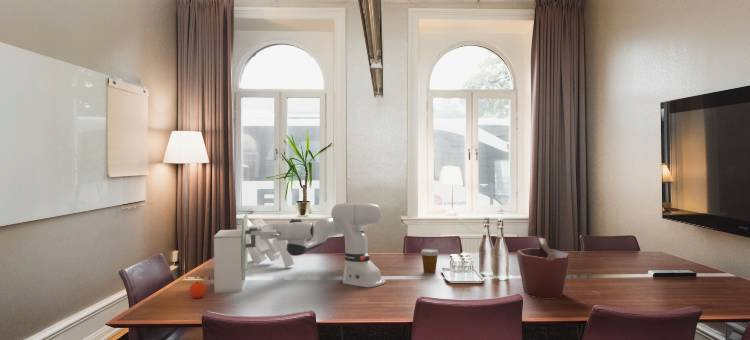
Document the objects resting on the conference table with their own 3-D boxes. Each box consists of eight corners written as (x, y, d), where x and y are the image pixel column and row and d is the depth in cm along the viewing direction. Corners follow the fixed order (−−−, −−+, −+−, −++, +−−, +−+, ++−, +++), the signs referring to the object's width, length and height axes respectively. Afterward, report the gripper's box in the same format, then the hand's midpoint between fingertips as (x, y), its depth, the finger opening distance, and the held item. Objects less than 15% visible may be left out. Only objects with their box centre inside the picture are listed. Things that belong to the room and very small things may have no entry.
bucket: (565, 305, 182) (565, 245, 182) (511, 297, 193) (511, 241, 192) (570, 290, 203) (571, 237, 203) (522, 283, 214) (522, 233, 214)
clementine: (203, 293, 197) (203, 278, 197) (211, 296, 193) (211, 280, 193) (186, 297, 191) (186, 281, 191) (194, 301, 187) (194, 284, 187)
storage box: (245, 280, 218) (245, 229, 218) (241, 291, 201) (241, 235, 200) (220, 282, 216) (219, 230, 216) (214, 292, 198) (213, 236, 198)
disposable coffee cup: (418, 273, 233) (418, 251, 233) (423, 269, 242) (423, 248, 242) (436, 275, 230) (436, 252, 230) (440, 271, 239) (440, 249, 238)
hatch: (258, 262, 220) (258, 214, 220) (255, 272, 201) (255, 219, 201) (245, 263, 219) (245, 214, 218) (242, 272, 200) (241, 219, 200)
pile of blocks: (300, 269, 265) (284, 216, 276) (297, 260, 237) (280, 202, 248) (243, 288, 257) (229, 233, 268) (233, 281, 229) (218, 220, 240)
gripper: (280, 241, 203) (249, 242, 200) (280, 234, 223) (252, 235, 220) (280, 228, 202) (249, 229, 200) (280, 222, 222) (252, 222, 220)
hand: (251, 232), depth 210 cm, fingers closed on hatch, 2 cm apart
